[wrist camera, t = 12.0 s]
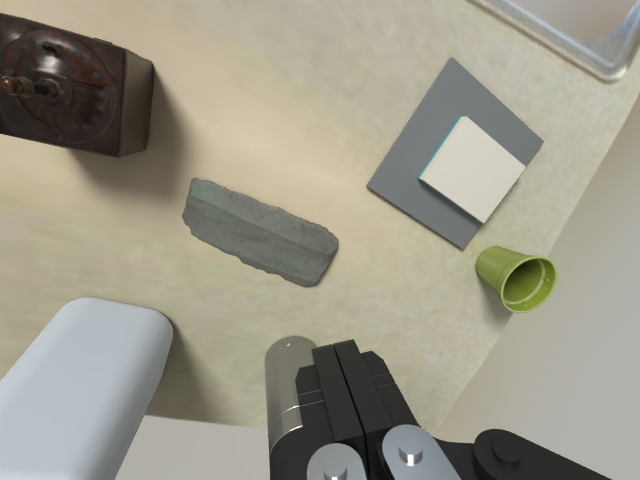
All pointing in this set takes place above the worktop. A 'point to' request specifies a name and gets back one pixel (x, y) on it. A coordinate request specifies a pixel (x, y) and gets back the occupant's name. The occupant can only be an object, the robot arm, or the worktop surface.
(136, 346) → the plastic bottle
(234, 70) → the worktop surface
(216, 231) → the stone slab
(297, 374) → the robot arm
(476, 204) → the glazed tile
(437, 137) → the rubber mat
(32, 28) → the brown coffee grinder
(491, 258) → the plant pot
